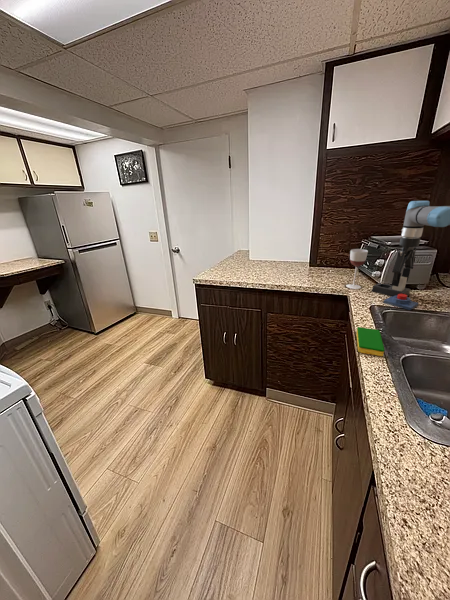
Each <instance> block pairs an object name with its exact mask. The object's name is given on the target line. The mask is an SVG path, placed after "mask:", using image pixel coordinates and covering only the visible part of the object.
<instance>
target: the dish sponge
mask: <svg viewBox="0 0 450 600" xmlns="http://www.w3.org/2000/svg"><path fill="white" fill-rule="evenodd" d="M356 339H357V340H356V343H357V352H358V353H361V354H367V355H373V356H378V357H384V354H385V347H384V343H383V338H382V334H381V331H380V329H376V328H368V327H361V326H357V327H356Z"/></svg>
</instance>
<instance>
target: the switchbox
mask: <svg viewBox="0 0 450 600" xmlns="http://www.w3.org/2000/svg"><path fill="white" fill-rule="evenodd" d="M397 296H398V295H397ZM397 296H389V297H387V298H386V299H384V300H383V302H382V303H383V304H386V305H390V306H394V307H397V308H401V309H405V310H408V311H412V310H413V309H415V308H416V307H417V306H419V302H417V301H412V300H411V298H410V297H408V296H407V299H406V300H401V299H398V298H397Z"/></svg>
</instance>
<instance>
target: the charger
mask: <svg viewBox="0 0 450 600" xmlns="http://www.w3.org/2000/svg"><path fill="white" fill-rule="evenodd" d="M406 281H407V277H402V275H401V277H400V281H399V286H398V287H396V286H393V287H392V289H393V290H397V291H401V292H402V291H403V290H404V289H405V288H406V285H407V282H406Z"/></svg>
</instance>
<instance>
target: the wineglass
mask: <svg viewBox="0 0 450 600" xmlns="http://www.w3.org/2000/svg"><path fill="white" fill-rule="evenodd" d="M368 253H369V250H367V249H363V248H351V249H350V251H349V261H350V263H351V265H352V266H354V267H355V268H354V276H353V282H352V283H351V284H350V283H349V284H346V285H345V287H346V288H348V289H351V290H353V289H354V290H359V289H361V288H362V286H360V285H358V284H355V283H356V277H357V272H358V267H361V266H363V265H364V264H365V263H366V260H367V256H368Z"/></svg>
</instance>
